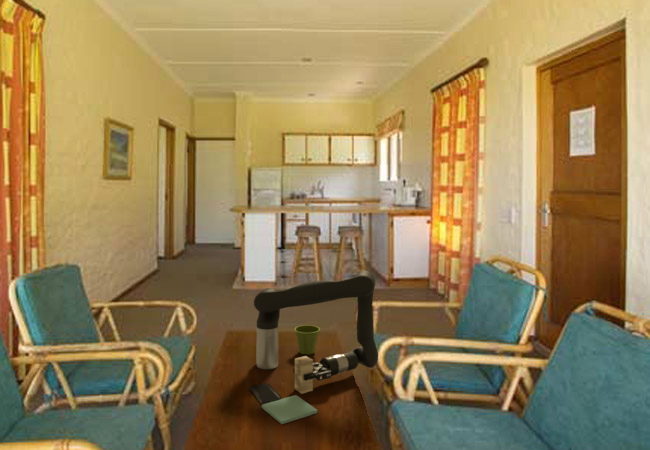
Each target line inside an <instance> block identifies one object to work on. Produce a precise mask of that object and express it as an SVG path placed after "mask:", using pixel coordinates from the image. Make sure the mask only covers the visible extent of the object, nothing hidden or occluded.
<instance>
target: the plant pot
mask: <svg viewBox="0 0 650 450" xmlns="http://www.w3.org/2000/svg"><path fill="white" fill-rule="evenodd" d="M294 331H295V335H296V338H297V345H298V352H299V353H300V354H301V355H306V356H309V355H313V354H314V353H315V352H316V347H317V341H318V336H319V332H320V331H321V328H320V327H319V326H317V325H313V324H303V325H302V324H301V325H299V326H298V325H297V326H295V328H294Z"/></svg>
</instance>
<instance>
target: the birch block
mask: <svg viewBox="0 0 650 450" xmlns="http://www.w3.org/2000/svg"><path fill="white" fill-rule="evenodd" d="M313 363H314V359H312V358H310V357H308V355H304V356H301V357H296V358H294V368H295V374H294V390H296V391H297V392H298V393H300V394H301V395H302V394H306V393H309V392H313V391H314V379H310V380H306V381H305V380H304V374H308V373H313Z"/></svg>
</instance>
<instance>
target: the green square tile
mask: <svg viewBox="0 0 650 450" xmlns="http://www.w3.org/2000/svg"><path fill="white" fill-rule="evenodd" d="M261 409H263V410H264V411H265V412H266V413H267V414H268V415H270V416H271V417H272V418H273V419H275V420H276V421H277V422H278V423H279V424H280V425H284V424H287V423H291V422H293V421H296V420H299V419H302V418H306V417H309V416H311V415H316V414H317V413H318V409H317V408H315V407H314V406H313V405H311V404H310V403H308V402H307V401H305V400H304V399H302V398H301V397H300V396H298V395H297V394H295V395H291V396H288V397H283V398H281V399H280V400H277V401H271V402H270V403H267V404H262V405H261Z"/></svg>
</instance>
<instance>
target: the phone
mask: <svg viewBox="0 0 650 450" xmlns="http://www.w3.org/2000/svg"><path fill="white" fill-rule="evenodd" d="M248 388H249V391H250V392H251V393H252V394H253V395H254V397H255V398H256V399H257V401H258V402H259V403H260V404H262V405H263V404H267V403H270V402H273V401H277V400H280V399H282V396H281V395H280V394H279V393H278V392H277V391H276V390H275V389H274V388H273V387H272V386H271V385H270V383H268V382H264V383H259V384H254V385H250V386H249V387H248Z"/></svg>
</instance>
